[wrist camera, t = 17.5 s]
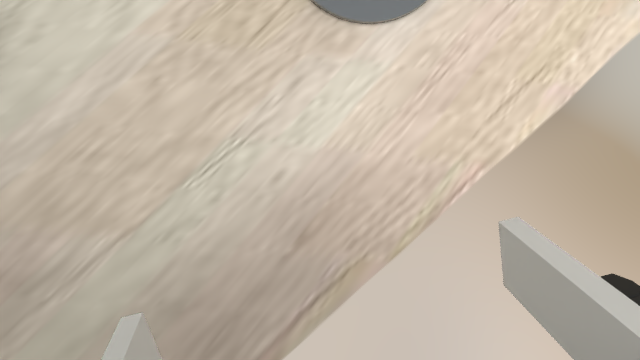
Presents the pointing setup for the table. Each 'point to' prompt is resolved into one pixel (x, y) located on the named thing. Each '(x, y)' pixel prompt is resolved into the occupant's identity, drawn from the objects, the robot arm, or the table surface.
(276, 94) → the table surface
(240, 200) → the table surface
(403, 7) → the saucer
